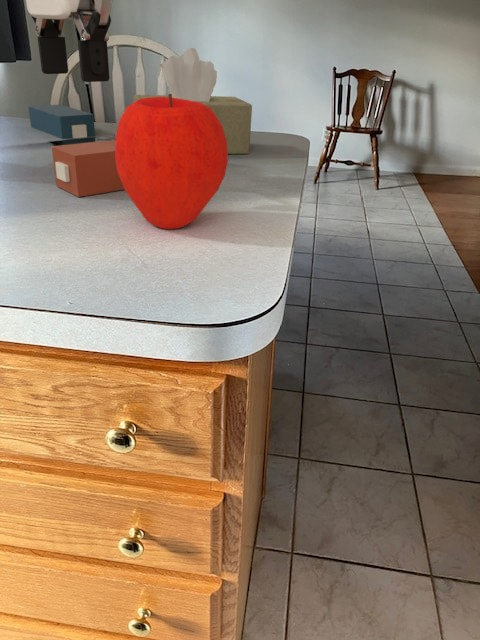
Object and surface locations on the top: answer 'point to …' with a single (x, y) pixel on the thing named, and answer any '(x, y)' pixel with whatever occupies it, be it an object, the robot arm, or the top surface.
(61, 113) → the tissue pack back
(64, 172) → the tissue pack front
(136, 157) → the apple
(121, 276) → the top surface
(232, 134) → the tissue box
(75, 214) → the top surface
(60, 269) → the top surface
